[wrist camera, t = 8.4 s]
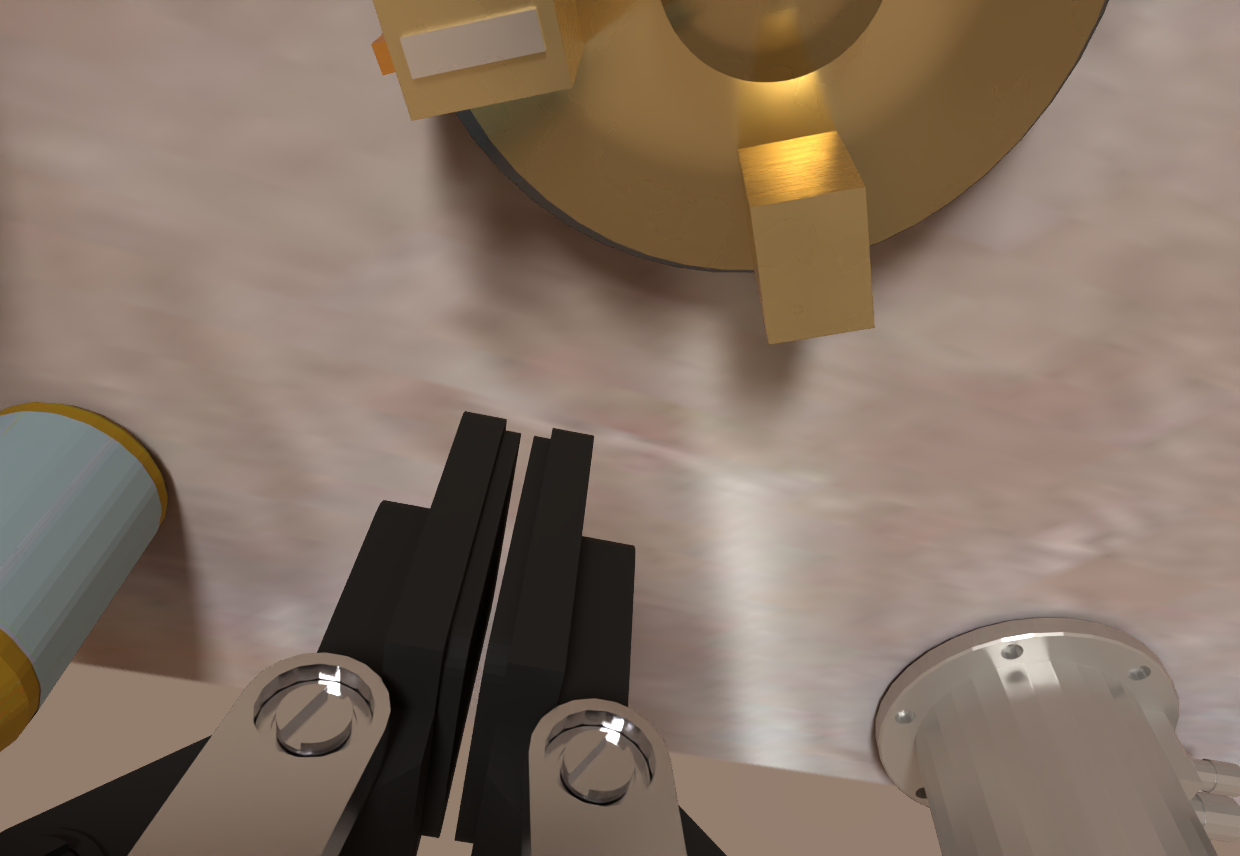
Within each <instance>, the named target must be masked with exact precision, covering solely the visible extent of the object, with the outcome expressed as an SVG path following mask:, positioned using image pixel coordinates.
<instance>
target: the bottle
mask: <svg viewBox="0 0 1240 856" xmlns="http://www.w3.org/2000/svg"><path fill="white" fill-rule="evenodd" d="M167 502H168V498H167V492H166V488H165V484H164V480H163V477H162V475H161V472H160V471H159V469H158V467H157V465H156V464H155V462H154V461H153V459H152V457H151V456H150V454H149V453H148V451H147V450H146V448H145V447H144V446H143V445H142V444H141V443H140V442H139V441H138V440H137V439H136V438H135V437H134V436H133V435H132V434H131V433H129V432H128V431H127V430H126V429H125V428H124V427H122V426H120V425H118V424H117V423H115V422H113V421H111V420H110V419H108V418H106V417H105V416H103V415H101V414H98V413H95V412H92V411H89V410H86V409H82V408H79V407H76V406H71V405H64V404H56V403H42V402H31V403H26V404H21V405H16V406H12V407H9V408H6V409H4V410H2V411H1V412H0V752H1V751H2V750H3V749H4V748H6V747H7V746H9V745H10V744H11V743H12V742H14V741H15V740H16V739H17V738H18V736H19V735H20V734H21V733H22V731H23V730H24V729H25V727H26V726H27V724H28V723H29V722H30V721H31V719H32V718H33V717H34V715H35V714H36V713H37V711H38V710H39V708H40V707H41V705H42V704H43V702H44V701H45V699H46V698H47V696H48V695H49V693H50V692H51V690H52V689H53V687H54V686H55V684H56V682H57V681H58V680H59V678H60V677H61V675H62V674H63V672H64V671H65V669H66V668H67V666H68V665H69V663H70V662H71V660H72V659H73V657H74V656H75V654H76V653H77V651H78V650H79V648H80V647H81V645H82V644H83V642H84V641H85V639H86V638H87V636H88V635H89V633H90V632H91V630H92V629H93V627H94V626H95V624H96V623H97V621H98V620H99V618H100V617H101V615H102V614H103V612H104V611H105V609H106V608H107V606H108V605H109V603H110V602H111V600H112V599H113V597H114V596H115V594H116V593H117V591H118V590H119V588H120V587H121V585H122V584H123V582H124V581H125V579H126V578H127V576H128V575H129V573H130V572H131V570H132V569H133V567H134V566H135V564H136V563H137V561H138V560H139V558H140V557H141V555H142V554H143V552H144V551H145V549H146V548H147V546H148V545H149V543H150V542H151V540H152V539H153V537H154V536H155V534H156V533H157V530H158V528H159V526H160V525H161V523H162V522H163V520H164V518H165V514H166V508H167Z"/></svg>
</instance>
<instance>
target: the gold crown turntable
mask: <svg viewBox="0 0 1240 856" xmlns="http://www.w3.org/2000/svg"><path fill="white" fill-rule="evenodd" d="M1104 1H1105V0H373V3H374V6H375V9H376V12H377V15H378V19H379V22H380V25H381V28H382V31H383V34H384V37H385V40H386V43H387V46H388V50H389V53H390V56H391V59H392V62H393V65H394V68H395V71H396V74H397V77H398V81H399V84H400V87H401V90H402V93H403V96H404V99H405V102H406V105H407V108H408V111H409V115H410V118H411V121H413V120H418V119H423V118H428V117H433V116H437V115H442V114H447V113H452V112H457V111H462V110H467V109H470V110H471V112H472V113H473V115H474V116H475V118H476V119H477V121H478V122H479V124H480V126H481V127H482V129H483V130H484V132H485V133H486V135H487V136H488V138H489V139H490V141H491V142H492V143H493V144H494V145H495V147H496V148H497V149H498V150H499V151H500V152H501V154H502V155H503V156H504V157H505V158H506V160H507V161H508V162H509V163H510V164H511V165H512V167H513V168H514V169H515V170H516V171H517V172H518V173H519V174H520V175H521V176H522V177H523V178H524V179H525V180H526V181H527V182H528V183H529V184H531V185H532V186H533V187H534V188H535V189H536V190H537V191H538V192H539V193H540V194H541V195H542V196H544V197H545V198H546V199H547V200H548V201H550V202H551V203H552V204H554V205H555V206H556V207H558V208H559V209H561V210H562V211H563V212H565V213H566V214H568V215H569V216H570V217H572V218H573V219H575V220H576V221H577V222H579V223H580V224H582V225H584V226H586V227H588V228H590V229H592V230H593V231H595V232H597V233H599V234H601V235H603V236H604V237H606V238H608V239H610V240H612V241H614V242H616V243H619V244H621V245H624V246H626V247H629V248H631V249H634V250H636V251H639V252H642V253H644V254H647V255H649V256H653V257H657V258H661V259H665V260H669V261H673V262H677V263H681V264H684V265H691V266H699V267H706V268H714V269H722V270H754V273H755V278H756V283H757V288H758V293H759V298H760V303H761V308H762V313H763V319H764V324H765V329H766V334H767V339H768V344H769V345H771V344H777V343H783V342H789V341H795V340H802V339H808V338H814V337H820V336H827V335H833V334H839V333H845V332H851V331H858V330H864V329H870V328H875V326H874V310H873V295H872V280H871V264H870V249H869V246H871V245H873V244H876V243H878V242H881V241H883V240H885V239H887V238H889V237H891V236H893V235H895V234H897V233H899V232H901V231H903V230H905V229H907V228H909V227H911V226H913V225H915V224H917V223H918V222H920V221H921V220H923V219H925V218H926V217H928V216H929V215H931V214H932V213H934V212H936V211H937V210H939V209H940V208H942V207H943V206H945V205H947V204H948V203H950V202H951V201H952V200H954V199H955V198H956V197H958V196H959V195H960V194H961V193H963V192H964V191H965V190H966V189H968V188H969V187H970V186H971V185H973V184H974V183H975V182H976V181H978V180H979V179H980V178H981V177H983V176H984V175H985V174H986V173H987V172H988V171H989V170H990V169H991V168H992V167H993V166H994V165H995V164H996V163H997V162H998V161H999V160H1000V159H1001V158H1002V157H1003V156H1004V155H1005V154H1006V153H1007V152H1008V151H1009V150H1010V149H1011V148H1012V147H1013V146H1014V145H1015V144H1016V143H1017V142H1018V141H1019V140H1020V139H1021V138H1022V136H1023V135H1024V134H1025V133H1026V132H1027V130H1028V129H1029V128H1030V127H1031V125H1032V124H1033V123H1034V122H1035V120H1036V119H1037V118H1038V117H1039V116H1040V114H1041V113H1042V112H1043V111H1044V109H1045V108H1046V107H1047V106H1048V104H1049V103H1050V101H1051V100H1052V98H1053V97H1054V95H1055V94H1056V92H1057V91H1058V89H1059V87H1060V86H1061V84H1062V83H1063V81H1064V80H1065V78H1066V77H1067V75H1068V74H1069V72H1070V71H1071V69H1072V68H1073V66H1074V65H1075V63H1076V61H1077V59H1078V57H1079V55H1080V53H1081V51H1082V49H1083V47H1084V45H1085V43H1086V41H1087V39H1088V37H1089V35H1090V33H1091V31H1092V29H1093V27H1094V25H1095V23H1096V21H1097V19H1098V17H1099V14H1100V12H1101V9H1102V6H1103V4H1104Z"/></svg>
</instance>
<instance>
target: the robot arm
mask: <svg viewBox="0 0 1240 856" xmlns="http://www.w3.org/2000/svg"><path fill="white" fill-rule="evenodd" d="M506 422H507V419H503V418H498V417H492V416H487V415H482V414H477V413H471V412H466V411H465V412H464V413H463V416H462V418H461V421H460V424H459V427H458V430H457V433H456V436H455V439H454V442H453V444H452V447H451V450H450V453H449V456H448V459H447V462H446V465H445V468H444V471H443V473H442V476H441V479H440V482H439V485H438V488H437V491H436V494H435V497H434V500H433V502H432V505H431V508H424V507H419V506H413V505H408V504H402V503H397V502H391V501H386V500H383V501H382V502H381V503H380V505H379V507H378V509H377V511H376V514H375V516H374V518H373V521H372V523H371V526H370V528H369V530H368V533H367V535H366V537H365V540H364V542H363V545H362V547H361V549H360V552H359V554H358V556H357V559H356V561H355V564H354V566H353V568H352V571H351V573H350V576H349V578H348V580H347V583H346V585H345V587H344V590H343V592H342V595H341V597H340V599H339V602H338V604H337V606H336V609H335V611H334V614H333V616H332V618H331V621H330V623H329V626H328V628H327V630H326V633H325V635H324V637H323V640H322V642H321V645H320V647H319V649H318V652H317V653H310V654H301V655H297V656H294V657H291V658H288V659H284V660H281V661H279V662H277V663H275V664H274V665H272V666H270V667H269V668H267V669H265V670H264V671H262V672H260V673H259V674H258V675H257V676H256V677H255V679H254V680H253V681H252V682H251V683H250V684H249V685H248V686H247V687H246V688H245V689H244V691H243V692H242V694H241V695H240V696H239V698H238V699H237V701H236V703H235V704H234V705H233V706H232V708H231V709H230V711H229V712H228V714H227V715H226V716H225V718H224V719H223V721H222V722H221V724H220V725H219V727H218V728H217V729H216V731H215V732H214V733H213V735H211V736H209V737H207V738H205V739H202V740H200V741H198V742H196V743H193V744H191V745H189V746H187V747H185V748H183V749H180V750H178V751H176V752H174V753H172V754H170V755H167V756H165V757H163V758H161V759H159V760H156V761H154V762H152V763H150V764H148V765H146V766H143V767H141V768H139V769H137V770H135V771H132V772H130V773H128V774H126V775H124V776H121V777H119V778H117V779H115V780H113V781H111V782H108V783H106V784H104V785H102V786H100V787H98V788H95V789H93V790H91V791H89V792H87V793H85V794H82V795H80V796H78V797H76V798H74V799H71V800H69V801H67V802H65V803H63V804H60V805H58V806H56V807H54V808H52V809H50V810H47V811H45V812H43V813H41V814H39V815H37V816H34V817H32V818H30V819H28V820H26V821H24V822H21V823H19V824H17V825H15V826H13V827H10V828H8V829H6V830H4V831H3V832H1V833H0V856H416V855H417V851H418V847H419V843H420V839H421V835H423V836H430V837H436V838H439V836H440V833H441V829H442V825H443V821H444V816H445V812H446V807H447V803H448V798H449V794H450V789H451V785H452V781H453V776H454V772H455V767H456V763H457V758H458V754H459V750H460V745H461V741H462V736H463V732H464V728H465V723H466V719H467V714H468V710H469V705H470V701H471V697H472V692H473V688H474V683H475V679H476V674H477V670H478V666H479V661H480V657H481V652H482V648H483V643H484V639H485V635H486V630H487V626H488V621H489V617H490V612H491V608H492V603H493V598H494V592H495V587H496V581H497V575H498V569H499V563H500V557H501V551H502V545H503V539H504V533H505V527H506V521H507V515H508V509H509V503H510V497H511V491H512V486H513V480H514V474H515V468H516V462H517V456H518V450H519V444H520V437H521V433H516V432H511V431H506ZM593 442H594V436H593V435H588V434H582V433H577V432H572V431H566V430H561V429H556V428H553V430H552V435H551V439H548V438H543V437H538V436H534V439H533V444H532V448H531V453H530V457H529V462H528V466H527V471H526V475H525V480H524V484H523V489H522V494H521V498H520V503H519V507H518V512H517V516H516V521H515V525H514V530H513V535H512V539H511V544H510V548H509V553H508V557H507V562H506V566H505V571H504V575H503V580H502V585H501V589H500V594H499V598H498V603H497V607H496V612H495V616H494V621H493V626H492V630H491V635H490V639H489V644H488V649H487V654H486V659H485V664H484V670H483V675H482V681H481V687H480V693H479V699H478V704H477V710H476V716H475V722H474V728H473V734H472V740H471V746H470V752H469V758H468V764H467V769H466V775H465V781H464V787H463V793H462V799H461V805H460V811H459V817H458V823H457V829H456V834H455V841H461V842H468V843H473V849H472V854H471V856H726V855H725V853H724V852H723V851H722V850H721V849H720V848H719V847H718V846H717V845H716V844H715V843H714V842H713V841H712V840H711V839H710V838H709V837H708V836H707V835H706V833H705V832H704V831H703V830H702V829H701V828H700V827H699V826H698V825H697V824H696V823H695V822H694V821H693V820H692V819H691V818H690V817H689V816H688V815H687V814H686V812H685V811H684V810H683V809H682V808H681V807H680V806H679V805H678V800H677V794H676V788H675V782H674V777H673V770H672V764H671V759H670V756H669V753H668V750H667V747H666V744H665V741H664V739H663V738H662V737H661V735H660V734H659V733H658V731H657V730H656V729H655V727H654V726H653V724H652V723H650V722H649V721H648V720H647V719H645V718H644V717H643V716H641V715H640V714H639V713H638V712H636V711H635V710H633V709H630V708H628V694H629V674H630V654H631V634H632V614H633V594H634V573H635V547H634V546H633V545H628V544H622V543H617V542H611V541H606V540H600V539H595V538H589V537H584V536H582V530H583V522H584V514H585V506H586V498H587V490H588V482H589V474H590V466H591V458H592V450H593ZM1178 719H1179V697H1178V695H1177V692H1176V689H1175V687H1174V684H1173V681H1172V679H1171V678H1170V676H1169V674H1168V673H1167V671H1166V669H1165V668H1164V666H1163V665H1162V663H1161V661H1160V660H1159V658H1158V657H1157V656H1156V655H1155V654H1154V653H1153V652H1152V651H1151V650H1150V649H1149V648H1148V647H1147V646H1146V645H1145V644H1144V643H1142V642H1140V641H1139V640H1137V639H1135V638H1134V637H1132V636H1130V635H1128V634H1127V633H1125V632H1123V631H1120V630H1117V629H1115V628H1112V627H1109V626H1106V625H1103V624H1100V623H1095V622H1090V621H1084V620H1078V619H1072V618H1032V619H1022V620H1013V621H1007V622H1003V623H999V624H995V625H990V626H986V627H982V628H979V629H976V630H974V631H971V632H968V633H966V634H963V635H960V636H958V637H955V638H953V639H951V640H949V641H947V642H945V643H943V644H942V645H940V646H938V647H936V648H934V649H932V650H931V651H929V652H927V653H926V654H925V655H923V656H922V657H921V658H919V659H918V660H917V661H915V662H914V663H913V664H911V665H910V666H909V667H908V668H907V669H906V670H905V671H904V672H903V673H902V674H901V675H900V676H899V677H898V678H897V679H896V680H895V682H894V683H893V684H892V685H891V687H890V688H889V690H888V692H887V693H886V695H885V696H884V698H883V700H882V701H881V704H880V707H879V711H878V714H877V717H876V726H875V738H876V742H877V746H878V751H879V755H880V760H881V763H882V765H883V767H884V769H885V771H886V773H887V775H888V777H889V778H890V779H891V780H892V781H893V783H894V784H895V785H896V786H897V787H898V788H899V789H900V790H901V791H902V792H903V793H905V794H906V795H907V796H908V797H910V798H911V799H913V800H914V801H916V802H918V803H920V804H923V805H925V806H927V807H929V808H930V810H931V814H932V817H933V821H934V825H935V829H936V833H937V837H938V840H939V844H940V848H941V852H942V856H1218V854H1217V853H1216V851H1215V849H1214V847H1213V845H1212V843H1211V841H1210V840H1217V841H1223V842H1234V841H1236V840H1237V839H1238V838H1240V806H1239V805H1238V804H1237V803H1236V801H1235V800H1234V799H1233V798H1230V797H1228V796H1231V797H1237V796H1239V795H1240V767H1239V766H1238V765H1237V764H1233V763H1228V762H1221V761H1215V760H1209V759H1202V760H1199V759H1193V758H1192V757H1191V756H1190V754H1188V753H1187V752H1186V751H1185V750H1184V748H1183V746H1182V744H1181V742H1180V740H1179V739H1178V737H1177V735H1176V733H1175V730H1176V726H1177V722H1178ZM1199 790H1202V791H1203V792H1199ZM1205 792H1207V793H1205ZM1211 793H1212V794H1211Z"/></svg>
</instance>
